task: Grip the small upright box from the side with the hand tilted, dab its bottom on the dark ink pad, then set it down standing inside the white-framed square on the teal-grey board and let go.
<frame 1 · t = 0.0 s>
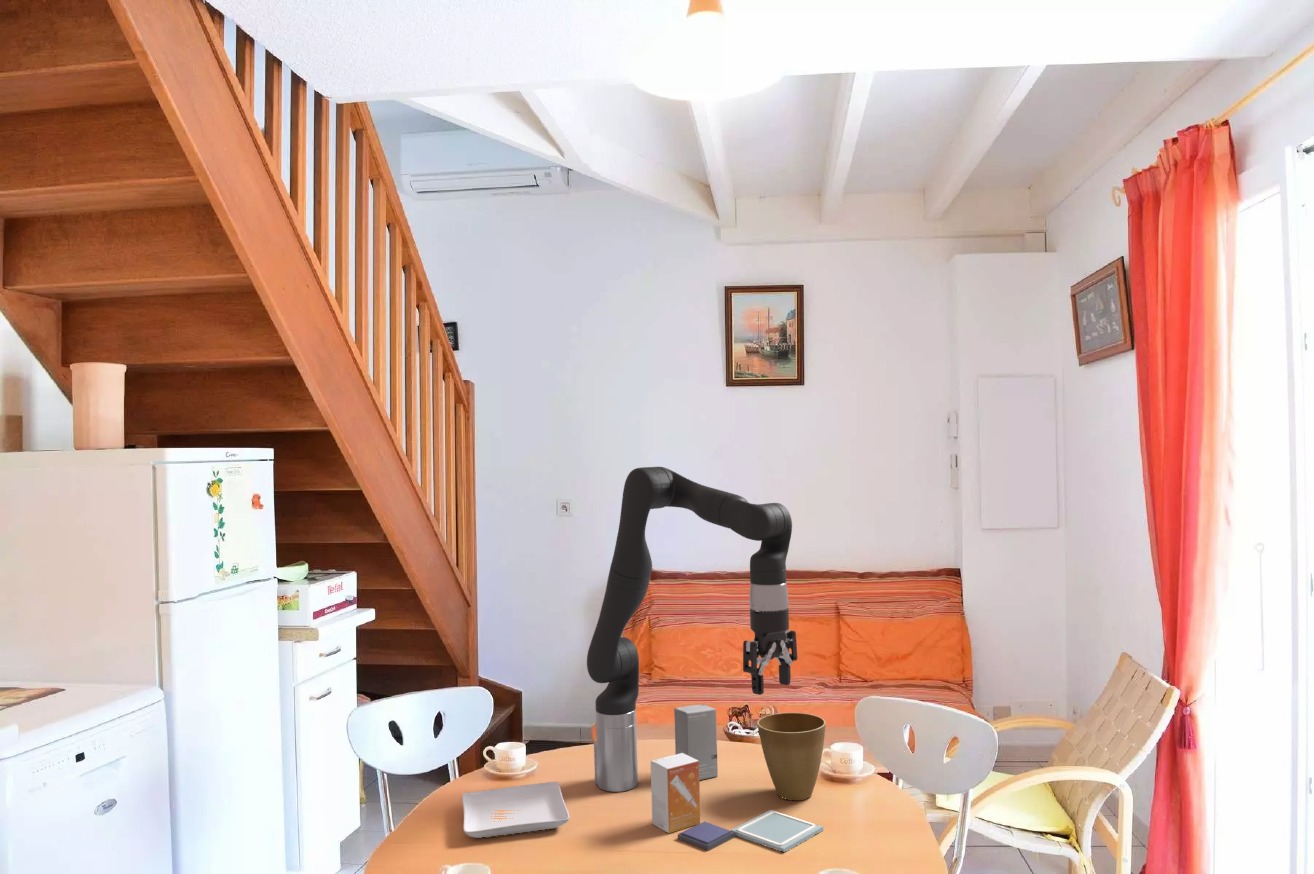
hand: (771, 689, 176), 29 cm above the table, tool pointing down, fingers open, 8 cm apart
plant pot: (793, 795, 198), on the table
salad plate: (514, 821, 190), on the table
ink pad: (706, 837, 177), on the table
skincare box: (697, 776, 211), on the table
small box: (676, 825, 184), on the table
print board: (777, 832, 179), on the table
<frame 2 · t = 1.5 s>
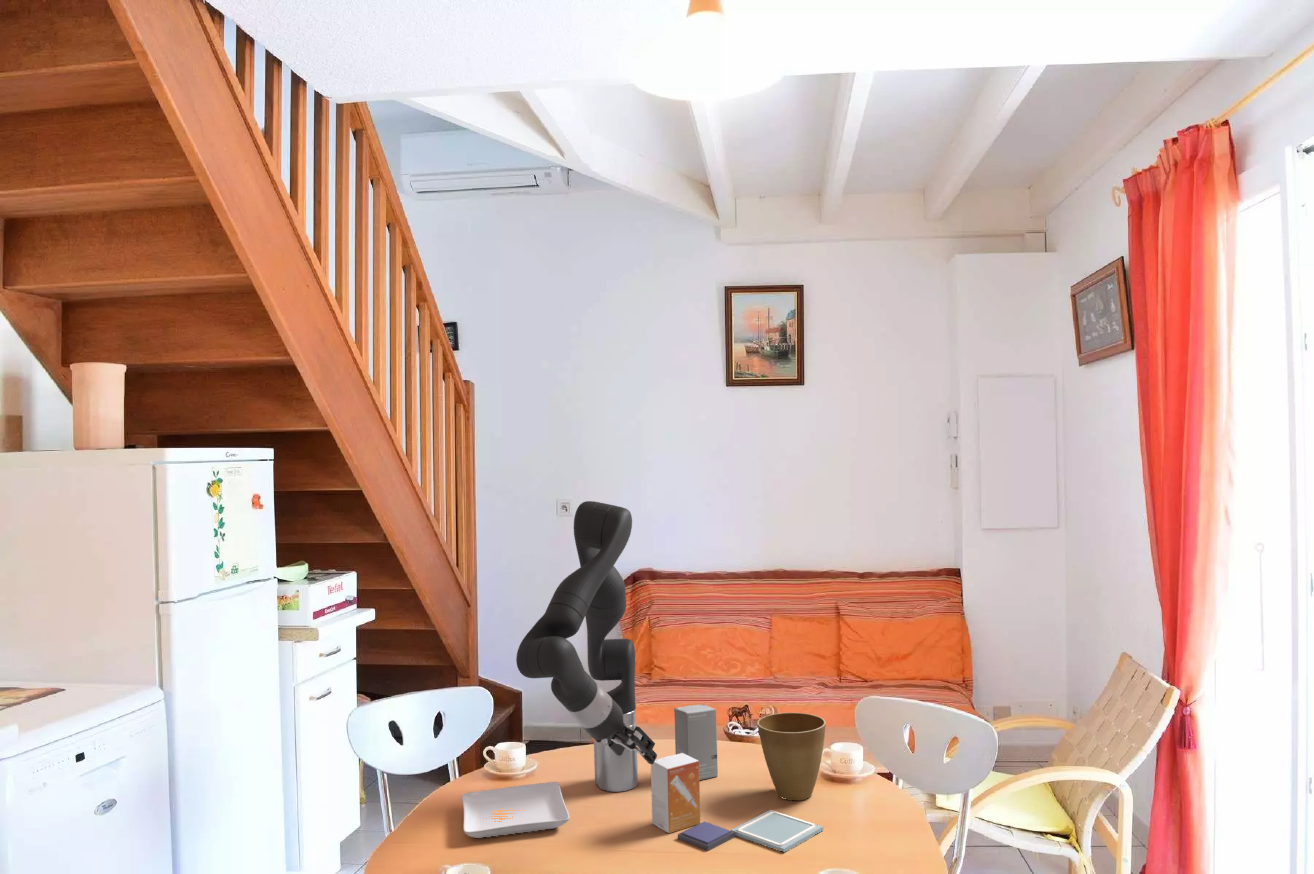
hand: (637, 755, 176), 17 cm above the table, tool tilted 45°, fingers open, 8 cm apart
nothing on the table moved.
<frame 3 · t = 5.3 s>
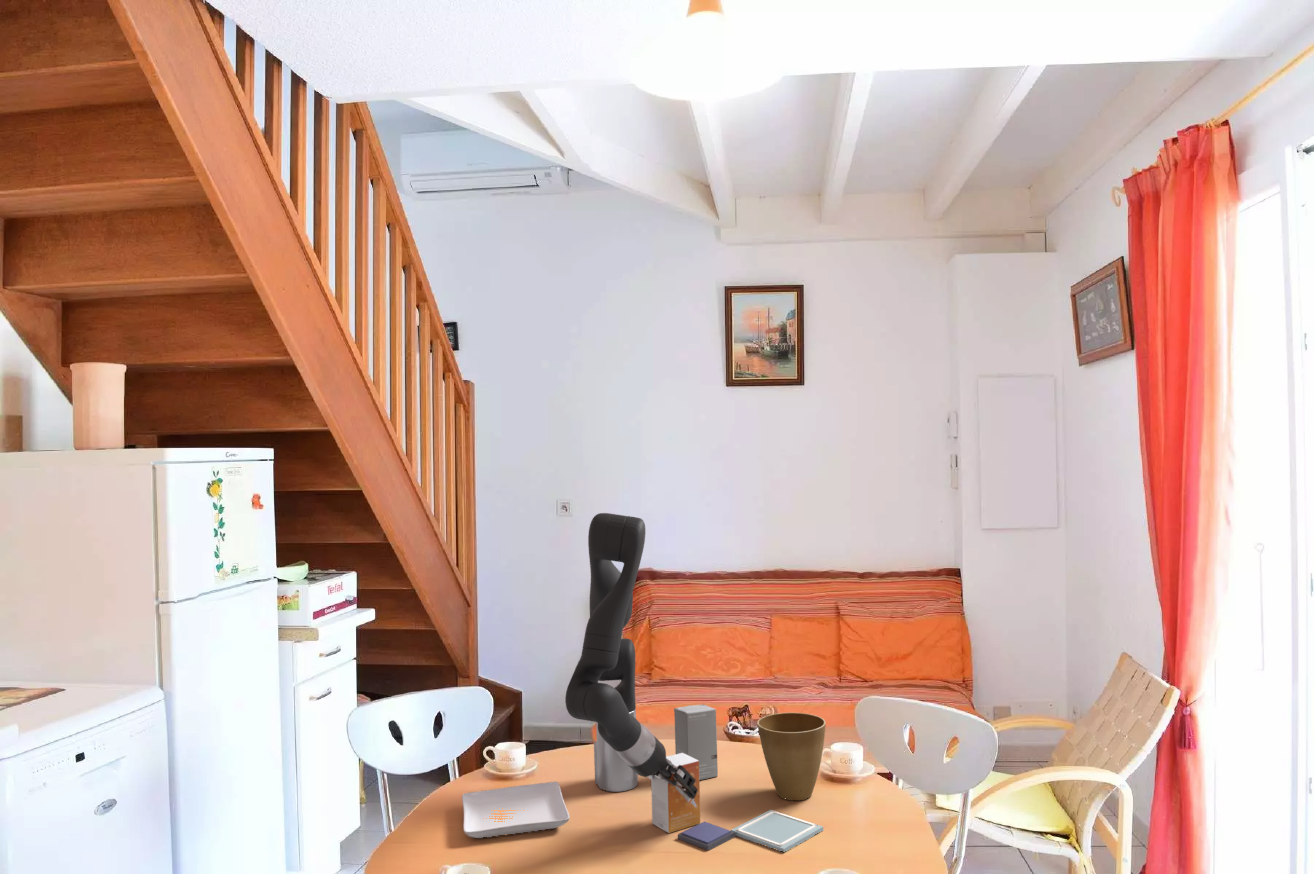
hand: (680, 789, 185), 7 cm above the table, tool tilted 45°, fingers closed on small box, 7 cm apart
small box: (676, 824, 184), on the table, touching gripper
everything else where it was.
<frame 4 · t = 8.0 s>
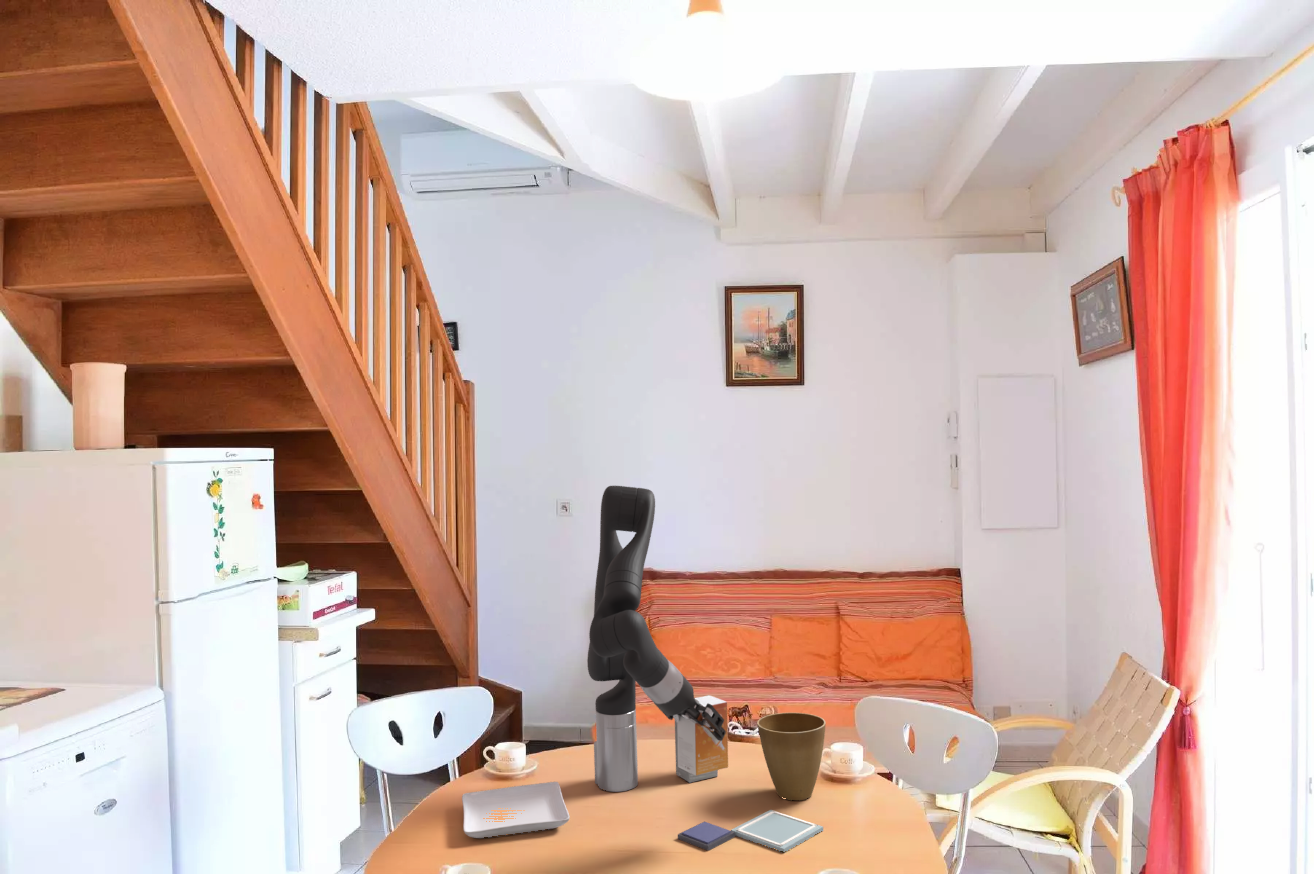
hand: (707, 732, 178), 20 cm above the table, tool tilted 45°, fingers closed on small box, 7 cm apart
small box: (703, 768, 177), point 14 cm above the table, touching gripper
everything else where it was.
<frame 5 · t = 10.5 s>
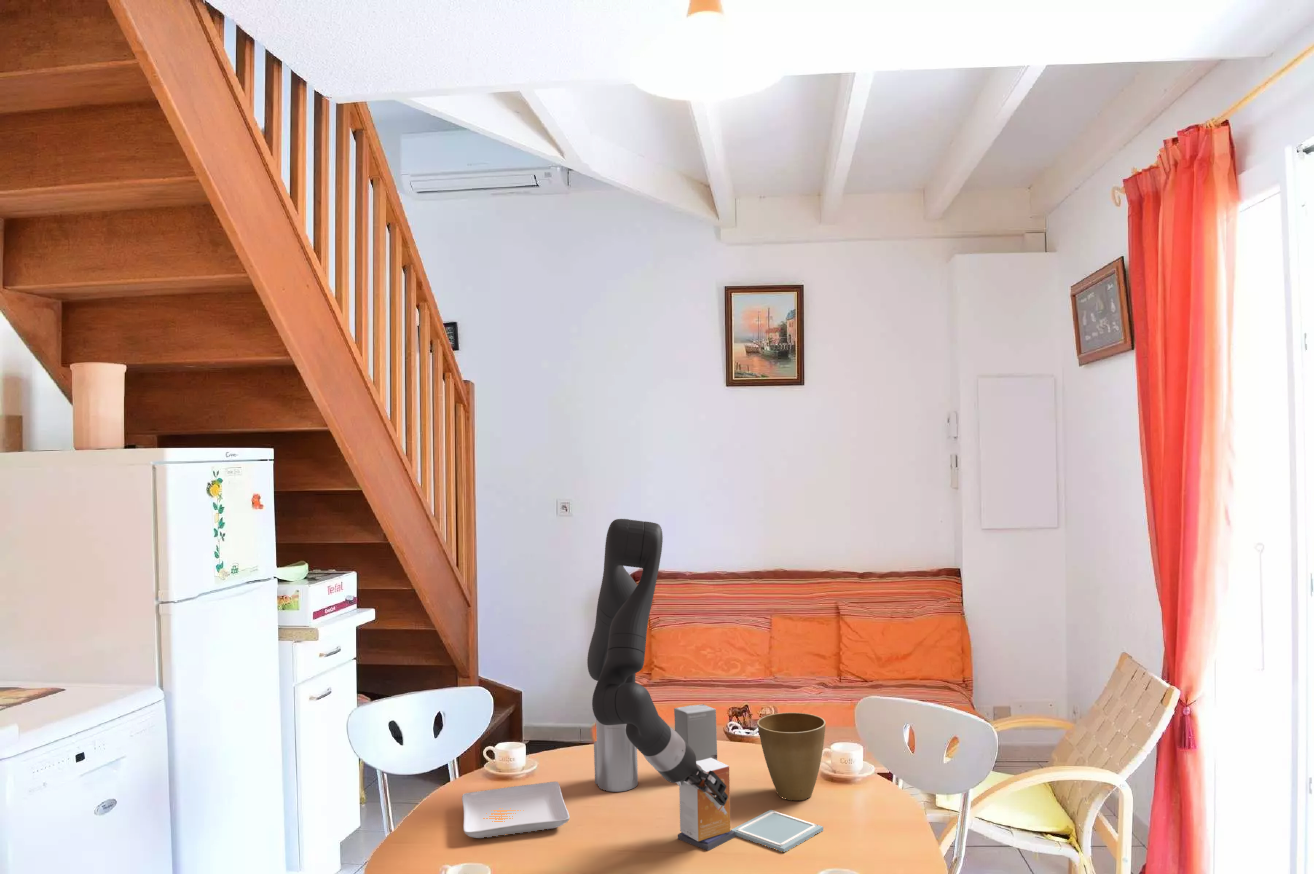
hand: (709, 796, 178), 8 cm above the table, tool tilted 45°, fingers closed on small box, 7 cm apart
small box: (705, 832, 177), point 1 cm above the table, touching gripper, ink pad
everything else where it was.
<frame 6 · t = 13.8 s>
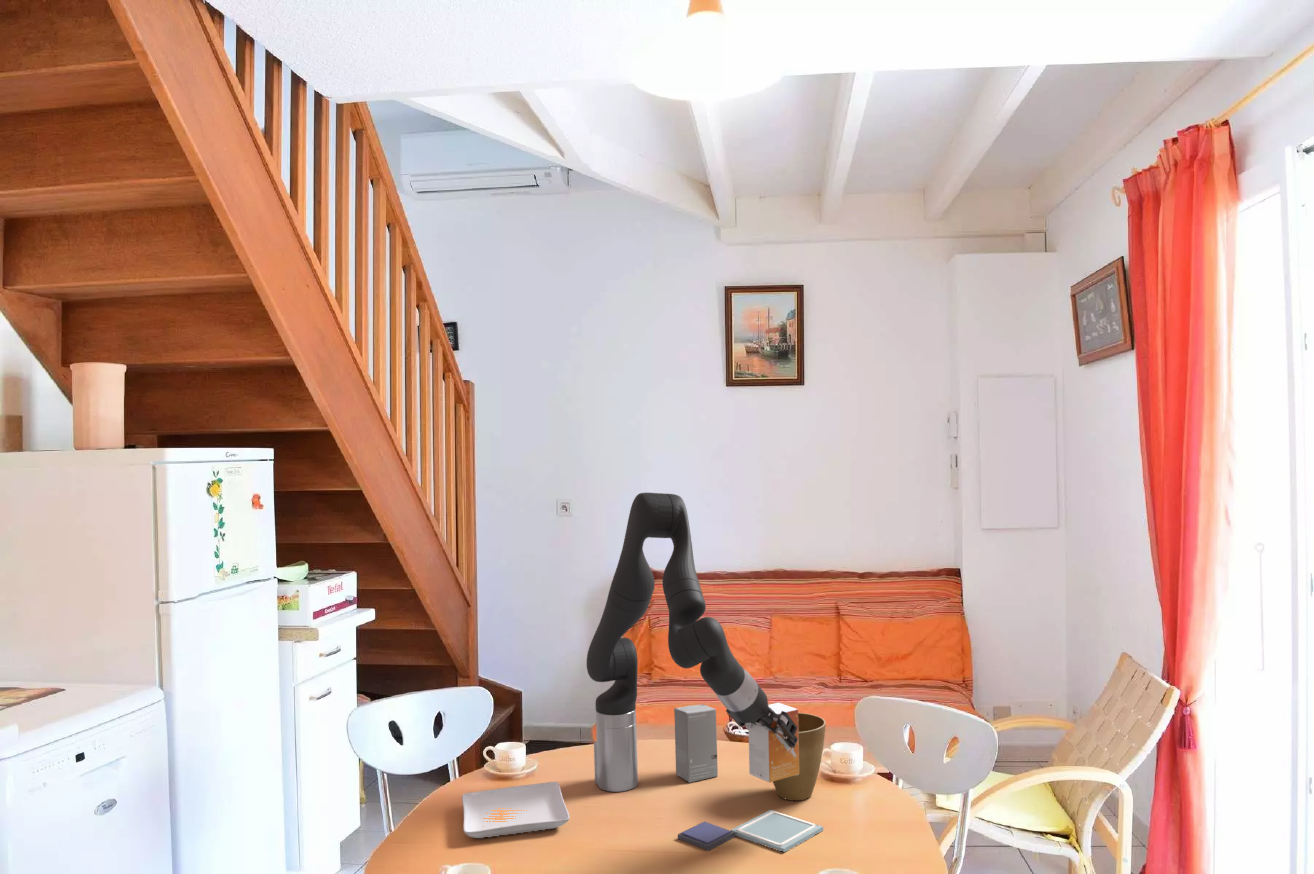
hand: (778, 739, 180), 18 cm above the table, tool tilted 45°, fingers closed on small box, 7 cm apart
small box: (774, 775, 179), point 11 cm above the table, touching gripper
everything else where it was.
when the fingers open (9 cm above the table, at t = 16.0 s): small box drops 1 cm, resting on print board.
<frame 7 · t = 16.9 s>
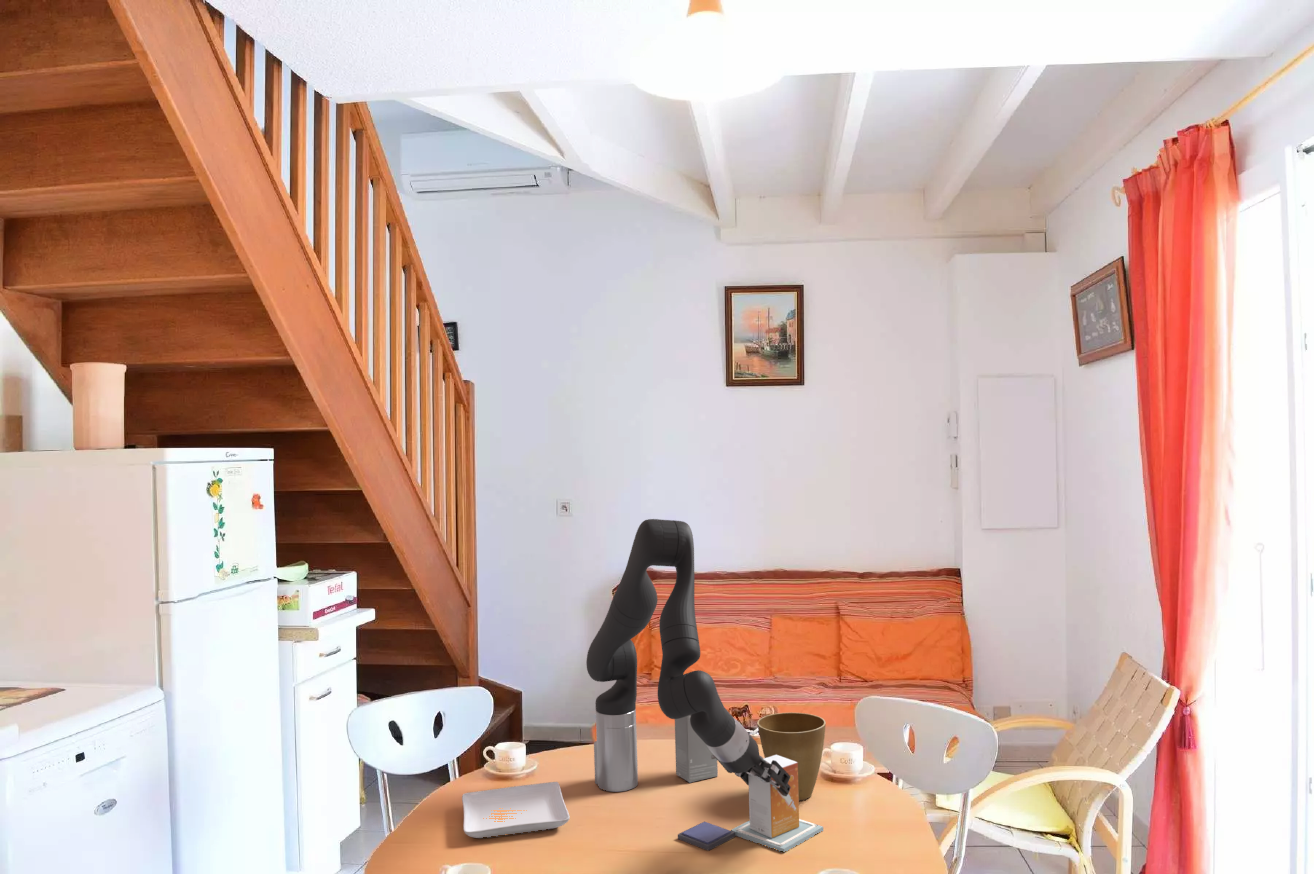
hand: (769, 786, 177), 10 cm above the table, tool tilted 45°, fingers open, 8 cm apart
small box: (774, 829, 179), point 1 cm above the table, touching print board
everything else where it was.
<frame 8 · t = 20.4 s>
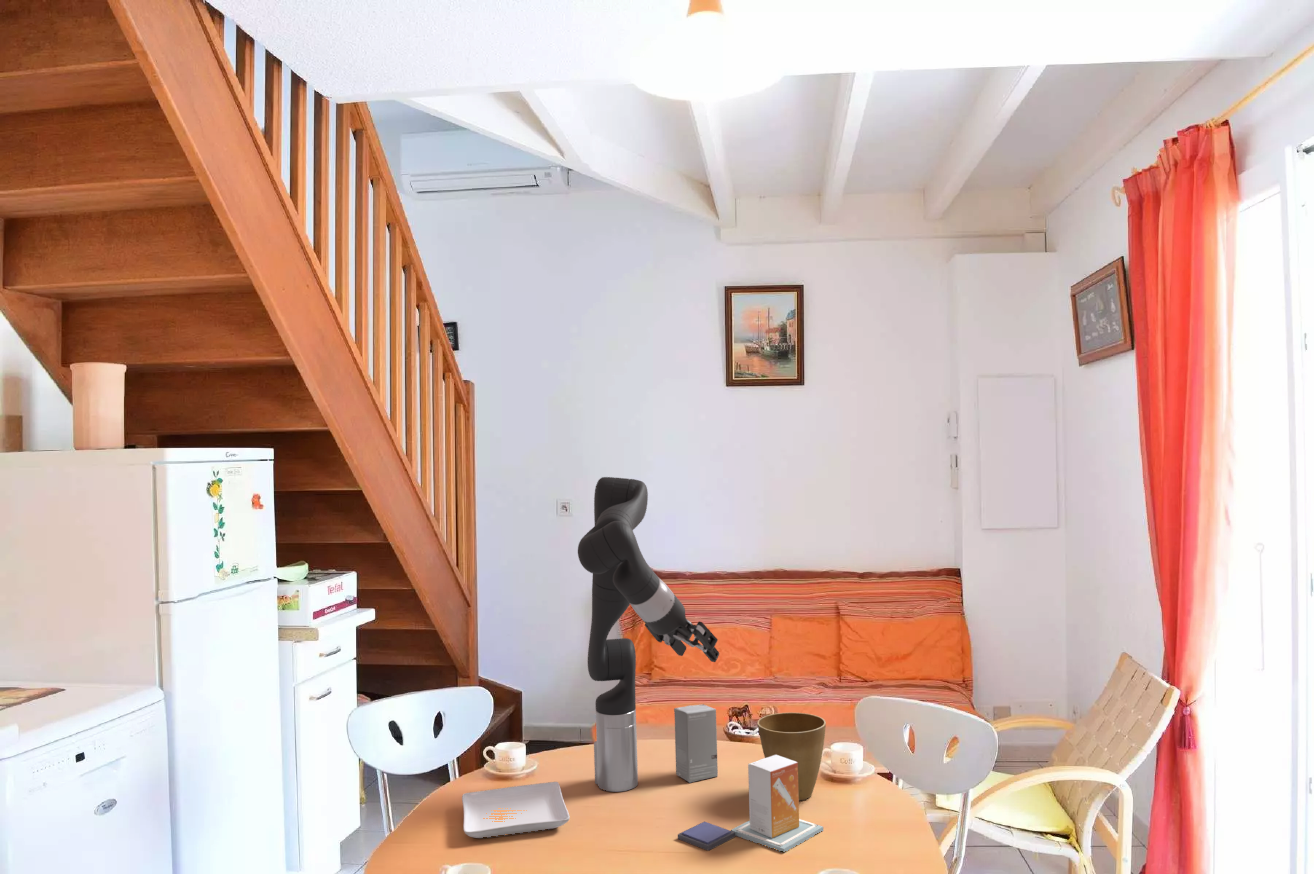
hand: (699, 654, 174), 37 cm above the table, tool tilted 45°, fingers open, 8 cm apart
nothing on the table moved.
at the end: small box 0.4 cm from the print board (horizontally); small box tilted 0°; the gripper is holding nothing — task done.
